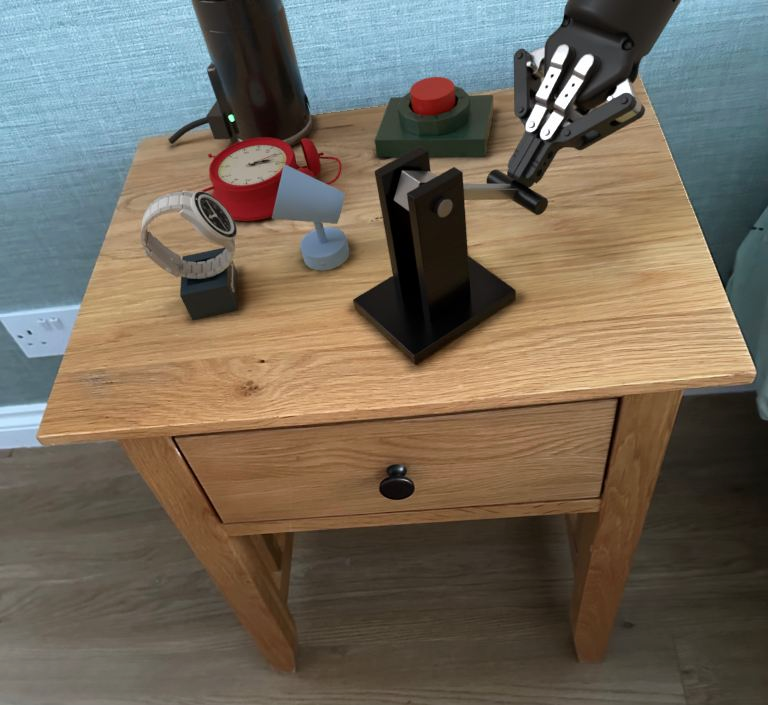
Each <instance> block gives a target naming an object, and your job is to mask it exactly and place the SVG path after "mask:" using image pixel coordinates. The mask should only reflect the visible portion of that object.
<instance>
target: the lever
mask: <svg viewBox="0 0 768 705" xmlns="http://www.w3.org/2000/svg"><path fill="white" fill-rule="evenodd" d="M437 176H438V175H437V174H435V173H433V172H432V171H431V172H430V171H404V170H402V172H401V176H400V179H399V183H398V186H397V190H396V194H395V197H394V201H395V202H397V203H398V204H400V205H401V206H402V207H404V208H405V209H406V210H408V211H409V206H408V199H407V193H408V192H410V191H412V190H413V189H415V188H417V187H419V186H421V185H422V184H424V183H426V182H428V181H430V180H431V179H433V178H435V177H437ZM485 182H486V183H476V182H475V183H474V182H471V183H470V182H469V183H467V182H466V183H465V182H463V186H464V201H495V200H496V201H504V200H505V201H506V200H507V201H508V200H509V201H510V200H511V201H513V202H514V203H516V204H517V205H519V206H520V207H522V208H524V209H526V210H527V211H529V212H531V213H532V214H534V215H535V216H540V215H542V214H544V213H545V211H546V210H547V208H548V206H549V200H548V198H547V197H545V196H544V195H542V194H540V193H538V192H537V191H535V190H533V189H532V188H531V187H529V188H528V187H526V186H524V185H522V184H521V183H519V182H517V181H515V180H514V179H512V178H510V177H508V176H507V173H504V172H503V171H502V170H500V169H498V168H497V169H496V168H495V169H492V170H491V171H490V172H489V173H488V175H487V176H486V181H485Z"/></svg>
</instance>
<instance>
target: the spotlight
mask: <svg viewBox="0 0 768 705" xmlns="http://www.w3.org/2000/svg"><path fill="white" fill-rule="evenodd" d="M344 202H345V192H344V191H342V190H341V189H338V188H336V187H334V186H332V185H331V184H330V185H327V184H325V182H323V181H321V180H319V179H316V178H313V177H310V176H308V175H306V174H304V173H302V172H300V171H298V170H296V169H294V168H291V167H289V166H287V165H285V164H284V167H283V171H282V176H281V180H280V185H279V189H278V193H277V198H276V202H275V207H274V211H273V216H271V219H272V220H281V221H297V222H307V223H309V222H310V223H313V225H314V229H313V230H311V231H309V232H308V233H307V234H305V235H304V236H303V238H302V239H301V240H300V245H299V246H300V251H301V255H302V259H303V260H304V264H305V265H306V266H307V267H308V268H310V269H312V270H314V271H330V270H333V269H336V268H338V267H340V266H341V265H343V264H344V263H345V262H346V261H347V260H348V258H349V255H350V248H349V244H348V239H347V236H346V233H345V232H344V231H343V230H342V229H340V228H337V227H333V226H324V224H332V225H333V224H335V225H338V223H339V221H340V218H341V214H342V210H343V206H344Z"/></svg>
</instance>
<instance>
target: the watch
mask: <svg viewBox="0 0 768 705" xmlns="http://www.w3.org/2000/svg"><path fill="white" fill-rule="evenodd" d="M172 212H178V214H179V216H181V218H184V219H185V220H187V221H188V222H189V223H190V224H191V226H192V227H193V229H194V230H195V232H197V233H198V234H199V235H200V236H201V237H202V238H203V239H205V241H207V242H209V243H210V244H212V245H217V246H222V247H220V248H216V249H215V248H214V249H212V250H211V249H210V250H207V251H206V250H205V251H201V252H197V253H191V254H188V255H182V257H181V255H180V254H178V253H176V252H175V251H173V250H171V249H170V248H168V247H167V246H165V245H164V244H163V243H162V242H161V241H160V239H158V238H157V237H156V236H154V235H153V233H152V232H151V231H149V230H148V227H149V225H151V223H152V222H153V221H154V219H157V218H159V217H160V216H162V215H165V214H169V213H172ZM142 216H143V217H142V220H141V230H140V243H141V245H142V247H143V248H142V249H143V250H144V254H145V255H146V256H147V257H148V258H149V259H150V260H151V261H152V262H153V263H154V264H155V265H157V266H158V267H159V268H161V269H162V270H164V271H165V272H167V273H168V274H170V275H172V276H174V277H176V278H179V277H180V291H179V297H180V299H181V301H182V303H183V305H184V306H185V309H186V310H187V313H188V315H189V317H190V319H191V321H193V320H198V319H203V318H208V317H211V316H216V315H221V314H227V313H230V312H236V311H238V310H239V307H238V306H239V305H238V304H239V302H238V271H237V268H236V265H235V263H234V257H235V253H236V241H235V240H236V237H237V234H238V228H237V225H236V222H235V220H234V219H233V218H232V216H231V214H230V213H229V212H228V210H227V209H226V208H225V207H224V205H223V204H222V203H221V202H220V201H218V200H217V199H216V198H215V197H213V196H212V194H210V193H208V192H207V191H206V192H203V191H201V190H197V191H190V190H185V189H184V190H182V191H175V192H170V193H166V194H164V195H162V196H159V197H158V198H156V199H154V200H153V201H152V202H151V203H150V204H149V205H148V206H147V208H146V210H145V211H144V213H143V215H142Z"/></svg>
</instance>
